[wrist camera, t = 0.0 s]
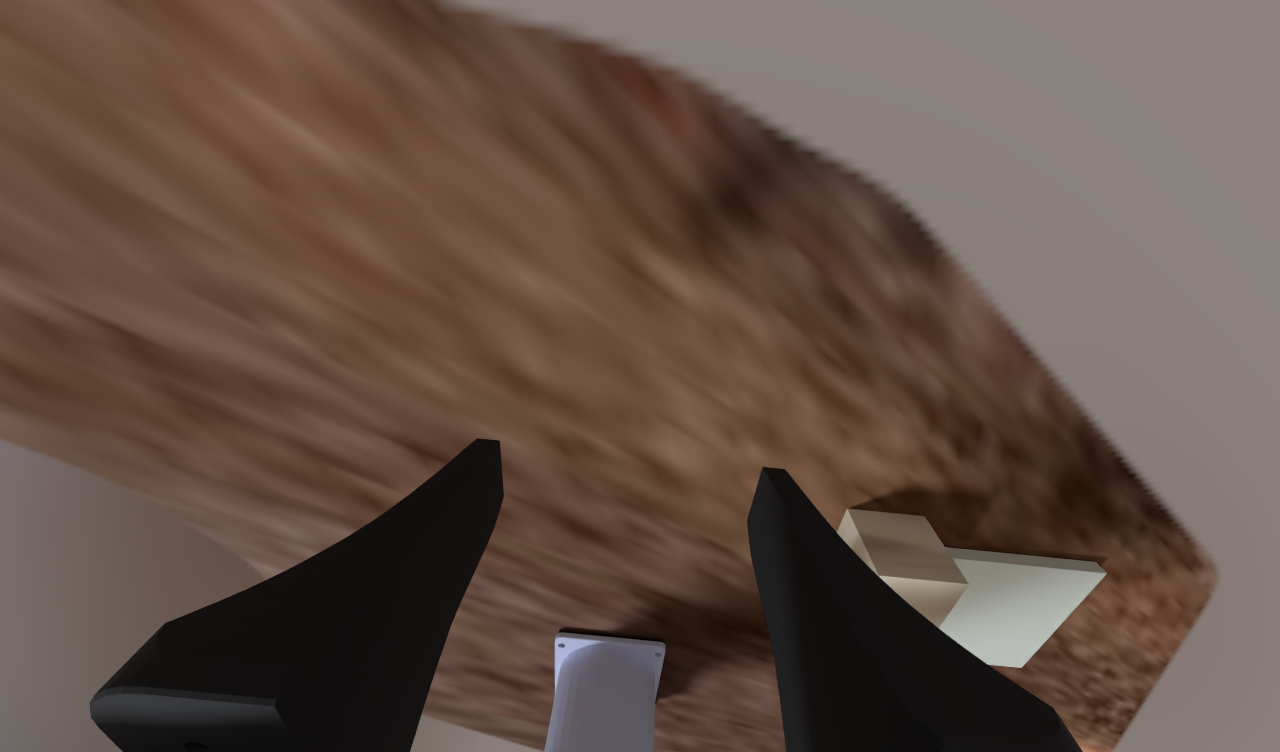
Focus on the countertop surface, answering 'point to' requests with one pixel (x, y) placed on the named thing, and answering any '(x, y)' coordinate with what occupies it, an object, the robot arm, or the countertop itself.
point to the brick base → (906, 559)
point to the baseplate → (1015, 602)
